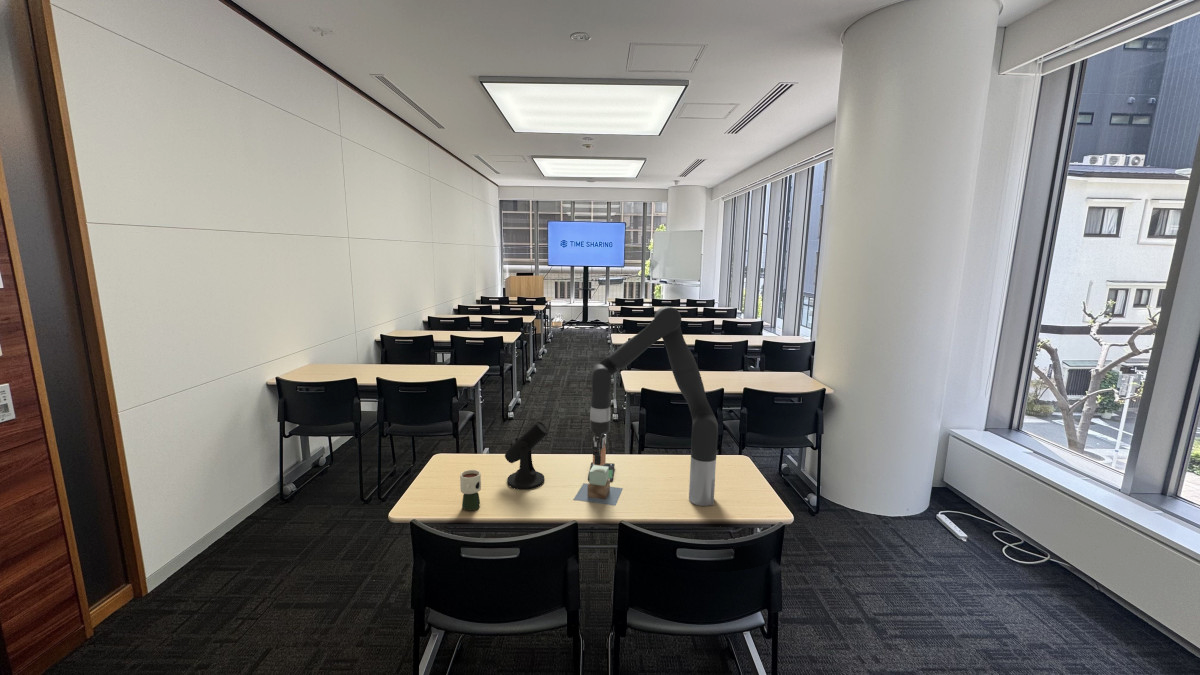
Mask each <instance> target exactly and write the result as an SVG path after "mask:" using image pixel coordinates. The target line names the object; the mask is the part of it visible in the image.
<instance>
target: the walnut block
mask: <svg viewBox="0 0 1200 675" xmlns="http://www.w3.org/2000/svg"><path fill="white" fill-rule="evenodd" d="M587 484H588V495H587V497H592V498H599V499H606V498H607V496H608V493H609V491H610V487H611V481H610V479H609V478H608V481H607V483H606V485H605V486H601V485H593V484H589V482H588V483H587Z"/></svg>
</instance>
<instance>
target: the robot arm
mask: <svg viewBox="0 0 1200 675" xmlns="http://www.w3.org/2000/svg"><path fill="white" fill-rule="evenodd" d="M681 323H682V315H681V313H680V311H679V310H678V309H677V308H676V307H672V306H662V307H660V308H659V309H657V310H656V312H655V314H654V317H653V319H652V320H651V322H649V323H648V325H647V326H646V327H645V328H643V329H642V330H641V331H639V332H638V333H637V334H636V335H634V336H633V337H631V338H630V339H628V340H627V341H625V342H624V343H623V344H621V345H620V346H619V347H618V348H617V349H615V350H614V351H613V352H612V353H611V354H609V355H608V356H605V358H604V359H602V360H600V361H599V362H598V363H596V364H595V365H594V366H593V368H592V370H591V372H590V373H591V396H590V413H589V414H590V415H589V416H590V417H589V431H591V432H592V433H594V436H593V438H592V439H593V441H592V442H591V446H592V456H593V455H595V465H600V464H601V450H602V449H603V446H605V447H606V446H607V435H608V433H609V432H610V431H611V388H612V387H611V386H612V376H613V375H614V374H616V373H617V372H618V371H621V370H623V369H625V368H626V367H627V366H628V365H630V364H632V362H633V361H635V360H636V359H637V358H638V357H639V356H641V354H643V353H644V352H645V351H646V350H648V349H649V348H650V347H651V346H652V345H654V344H655V343H657V342H658V341H659V340H661V339H662V340H663V343H664V346H665V349H666V353H667V358H668V361H669V364H670V368H671V372H672V374H673V377H674V380H675V382H676V385H677V388H678V389H679V391H680V393H681V395H682V397H683V398H684V399H685V401H686V403H687V405H688V408H689V412H690V416H691V421H692V426H691V439H690V440H691V442H690V467H689V468H690V470H689V485H688V486H689V487H688V500H689V502H690V503H691V504H693V505H696V506H700V507H708V506H714V503H715V486H716V470H717V469H716V464H717V453H718V439H719V437H718V436H719V423H718V419H717V418H716V415H715V414H714V412H713V409H712V408H711V405H710V404H709V400H708V399H707V395H706V390H705V387H704V383H703V382H704V381H703V379H702V376H701V372H700V369H699V366H698V364H697V362H696V359H695V357H694V355H693V353H692V352H691V350H690V347H688V344H687V342H686V340H685V338H684V334H683V330H682V328H681ZM600 446H601V447H600ZM596 451H598V452H596Z"/></svg>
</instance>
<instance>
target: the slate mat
mask: <svg viewBox="0 0 1200 675" xmlns="http://www.w3.org/2000/svg"><path fill="white" fill-rule="evenodd" d="M623 490H624V488H623V487H617V486H610V491H609V493H608V496H607V498H606V499H599V498H592V497H587V495H588V483H586V482H583V483H582V484H581V487H580V488H579V490H578V491H577V493H576V494H575V495H574V498H573V501H579V502H587V503H592V504H599V505H608V506H613V507H614V506H616V505H617V504H618V501H619V498H620V496H621V495H622V491H623Z"/></svg>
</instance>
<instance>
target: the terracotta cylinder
mask: <svg viewBox="0 0 1200 675" xmlns="http://www.w3.org/2000/svg"><path fill="white" fill-rule="evenodd" d="M600 447H601V446H600ZM606 451H607V448H606V446H603V449H602V450H601V464H600V465H598V466H601V465H604V464H605V463H607V461H606V459H607V458H606V453H607V452H606ZM596 452H598V451H596ZM592 462H593V464H594V465H595V455H593V454H592Z"/></svg>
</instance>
